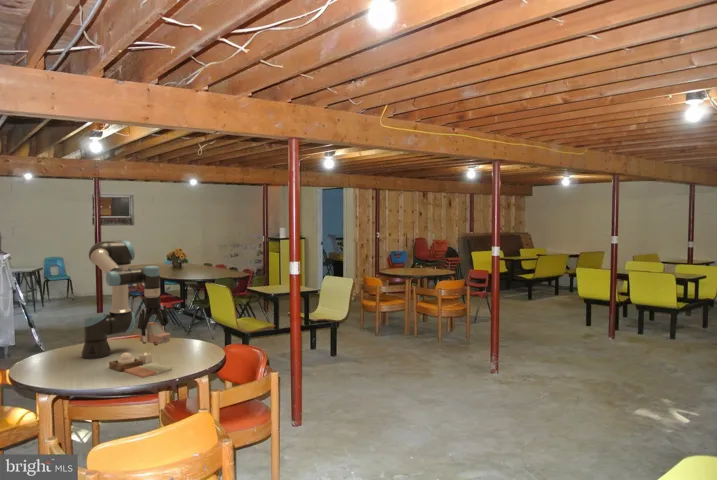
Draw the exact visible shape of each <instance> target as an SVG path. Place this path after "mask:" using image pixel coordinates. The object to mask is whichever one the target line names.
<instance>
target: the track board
mask: <svg viewBox="0 0 717 480" xmlns="http://www.w3.org/2000/svg"><path fill="white" fill-rule="evenodd" d="M172 370H173V368H172V367H169V366H166V365H162V364H159V363H156V362H149V363H146V364H143V365H142V366H138V367H134V368H130V369H126V370H125V371H124V373H128V374H130V375H132V376H133V375H134V376H136V377H140V378H146V377H147V378H148V377H151V376H154V375H160V374H162V373H166V372H170V371H172Z"/></svg>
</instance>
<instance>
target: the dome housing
mask: <svg viewBox="0 0 717 480" xmlns="http://www.w3.org/2000/svg"><path fill="white" fill-rule="evenodd" d="M108 362H109V363H108V365H109V367H108V368H109V369H112V370H115V371H118V372H125V370H126V369H130V368H134V367H138V366H142V365H144V363H143V360H140V359H139V358H135V357H134V362H132V363H127V364H123V365H122V364H119V363H118V359H117V360H112V361H111V360H110V361H108Z"/></svg>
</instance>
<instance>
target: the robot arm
mask: <svg viewBox="0 0 717 480" xmlns="http://www.w3.org/2000/svg"><path fill="white" fill-rule="evenodd" d="M88 259H89V260H90V262H91V263H92V264H93V265H96V266H97V267H98V268H99V269H100V270H101V271H102V272H103V273H104V275H105V282H106V284H107V286H108V287H111V297H112V298H111V299H112V301H111V302H112V303H111V305H112V306H111V308H110V310H109V314H107V313H106V312H98V313H93V314H89V315H87V316H86V317H84V318H83V325H82V327H83V338H84V339H83V340H84V344H83V347H82V351H81V354H80V355H81V358H82V359H87V360H89V359H90V360H92V359H93V360H94V359H100V358H106V357H108V356H110V355H111V354H112V348H111V346H110V345H109V342H108V336H111V335H118V334H125V333H130V332H132V331H133V330H134V328H135V325H136V315H135V312H133V311H132V309H131V308H130V307H129V285H138V284H144V285H143V286H144V292H143V293H144V304H145V307H144V308H139V318H138V324H137V329H138V330H139V329H140V331H141V330H142V336H143V342H146V343H148V338H147V329H146V327H147V324H148V323H149V322H150V318H151V317H152V316H153V315H155V316H156V318H157V320H158V321H159V322H158V323H159V325H160V326H161V328H162V330H165V331H166V327H167V324H169V323H170V322H169V319H168V314H167V309H166V308H167V306H166V305H163V304H162V305H161V302H162V301H161V296H160V295H161V271H160V267H159V266H158V265H147V266H144V267H141V268H140V267H139V268H137V269H129V266H130V265H131V264H132V261H134V260H135V249H134V246H133V243H132V242H131V241H129V240H122V239H121V240H108V241H107V240H104V241H99V242H96V243H95V244H94V245H92V247H90V248H89V251H88Z"/></svg>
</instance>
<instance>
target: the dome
mask: <svg viewBox="0 0 717 480" xmlns="http://www.w3.org/2000/svg"><path fill="white" fill-rule="evenodd" d="M134 358H135V357H134V356H133V354H131V353H130V352H123V353H122V354H120V356H119V358H117V360H118V363H119V364H122V365H123V364H127V363H132V362H134Z"/></svg>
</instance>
